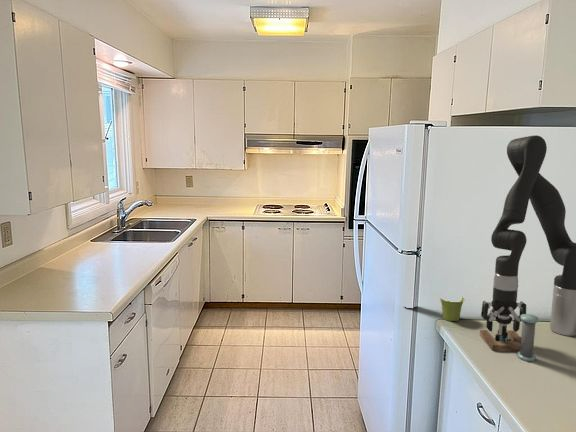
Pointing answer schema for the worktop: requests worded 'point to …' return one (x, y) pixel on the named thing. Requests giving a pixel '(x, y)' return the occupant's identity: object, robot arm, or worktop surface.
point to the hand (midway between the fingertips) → (502, 330)
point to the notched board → (502, 345)
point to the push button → (502, 327)
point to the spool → (527, 337)
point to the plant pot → (451, 309)
